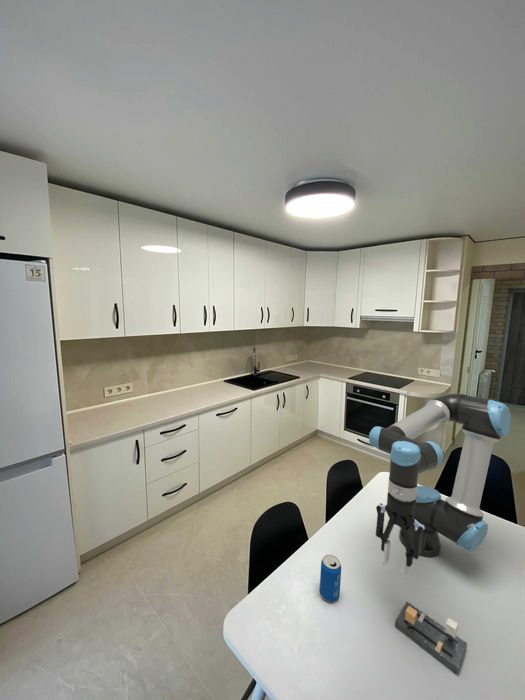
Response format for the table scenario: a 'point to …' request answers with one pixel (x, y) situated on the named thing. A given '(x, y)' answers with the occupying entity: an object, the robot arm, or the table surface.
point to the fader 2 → (451, 628)
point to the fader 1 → (411, 616)
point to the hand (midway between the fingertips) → (395, 567)
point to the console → (433, 639)
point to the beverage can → (330, 578)
